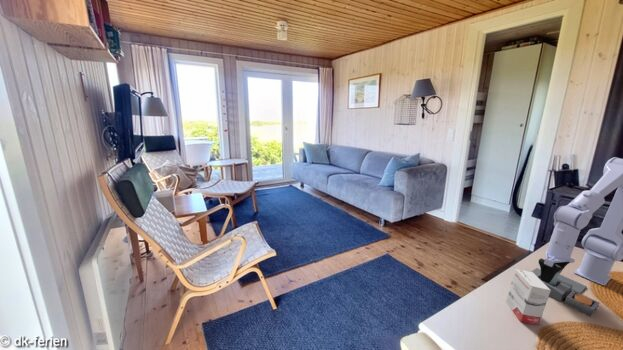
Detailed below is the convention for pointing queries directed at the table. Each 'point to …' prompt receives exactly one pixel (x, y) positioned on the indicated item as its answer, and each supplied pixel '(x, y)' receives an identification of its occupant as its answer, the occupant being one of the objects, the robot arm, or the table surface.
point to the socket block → (560, 288)
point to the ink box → (527, 296)
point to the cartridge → (554, 278)
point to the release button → (583, 299)
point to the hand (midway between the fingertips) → (549, 277)
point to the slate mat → (574, 284)
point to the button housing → (581, 304)
